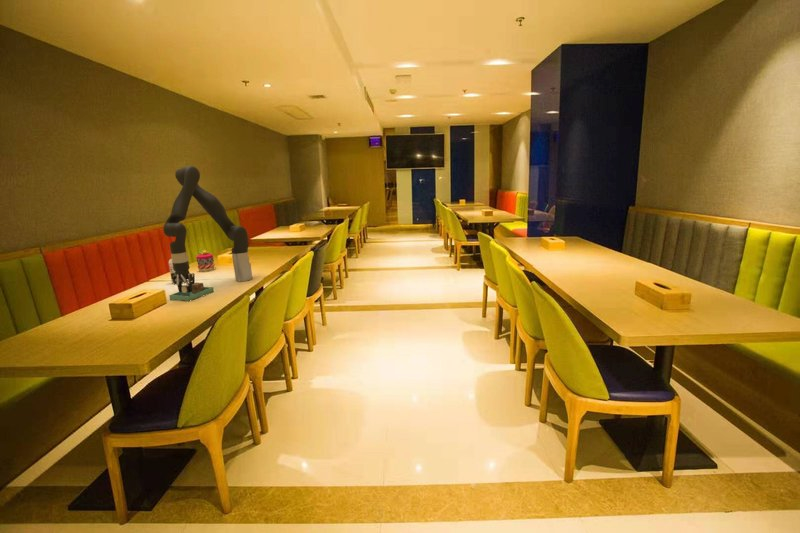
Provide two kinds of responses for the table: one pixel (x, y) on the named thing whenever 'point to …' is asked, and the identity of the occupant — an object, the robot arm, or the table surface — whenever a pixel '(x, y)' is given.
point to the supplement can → (172, 269)
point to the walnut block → (197, 288)
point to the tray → (193, 296)
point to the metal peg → (185, 291)
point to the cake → (205, 261)
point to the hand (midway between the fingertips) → (185, 291)
